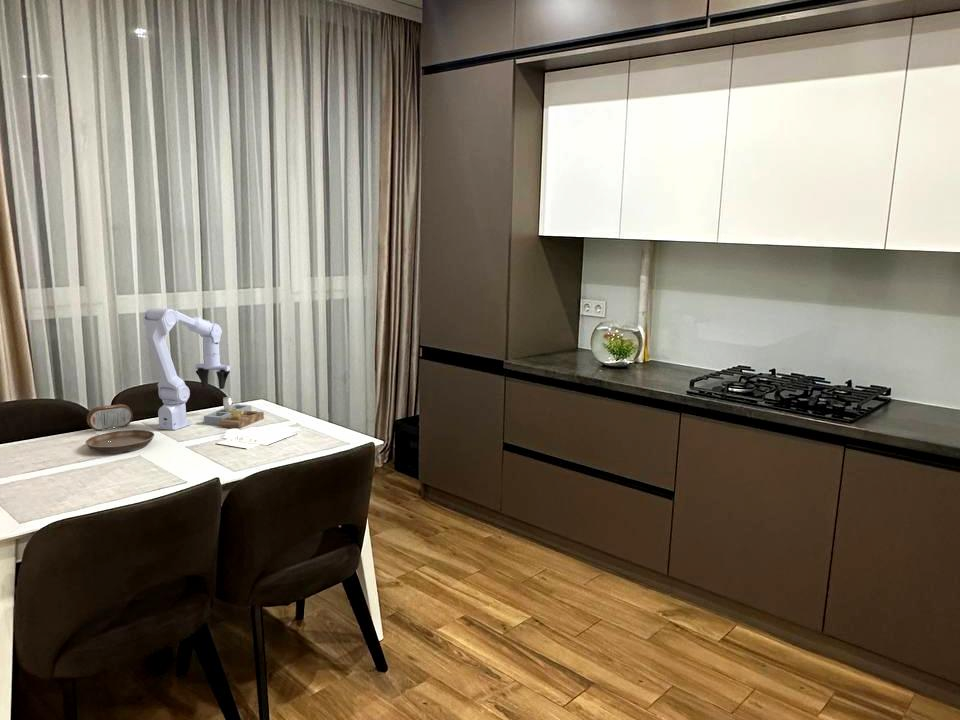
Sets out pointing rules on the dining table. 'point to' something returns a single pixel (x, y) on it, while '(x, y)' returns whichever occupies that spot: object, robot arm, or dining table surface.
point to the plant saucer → (120, 441)
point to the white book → (257, 436)
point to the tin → (109, 416)
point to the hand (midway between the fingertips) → (213, 388)
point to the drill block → (242, 420)
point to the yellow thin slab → (235, 413)
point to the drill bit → (227, 403)
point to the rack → (223, 414)
